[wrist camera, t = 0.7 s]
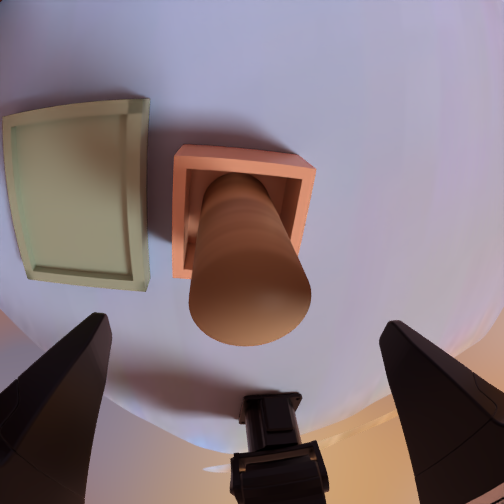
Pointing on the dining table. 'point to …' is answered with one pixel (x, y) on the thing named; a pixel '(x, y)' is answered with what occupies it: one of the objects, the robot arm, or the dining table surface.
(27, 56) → the dining table surface
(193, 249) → the holder
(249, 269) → the dowel
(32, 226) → the tray
